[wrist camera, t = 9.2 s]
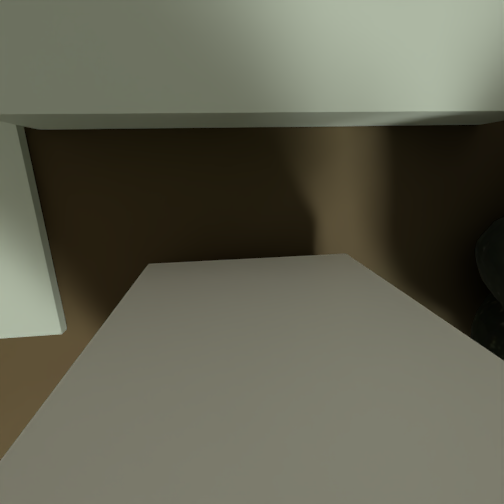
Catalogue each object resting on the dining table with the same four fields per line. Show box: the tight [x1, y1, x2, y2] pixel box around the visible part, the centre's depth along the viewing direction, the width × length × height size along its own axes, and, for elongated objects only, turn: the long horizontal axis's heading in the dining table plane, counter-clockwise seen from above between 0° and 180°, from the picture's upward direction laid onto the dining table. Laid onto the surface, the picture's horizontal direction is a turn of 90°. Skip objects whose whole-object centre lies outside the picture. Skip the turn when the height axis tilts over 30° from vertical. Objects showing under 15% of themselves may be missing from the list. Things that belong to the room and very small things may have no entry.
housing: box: [0, 254, 504, 504], centre depth 7 cm, size 7×7×9 cm
